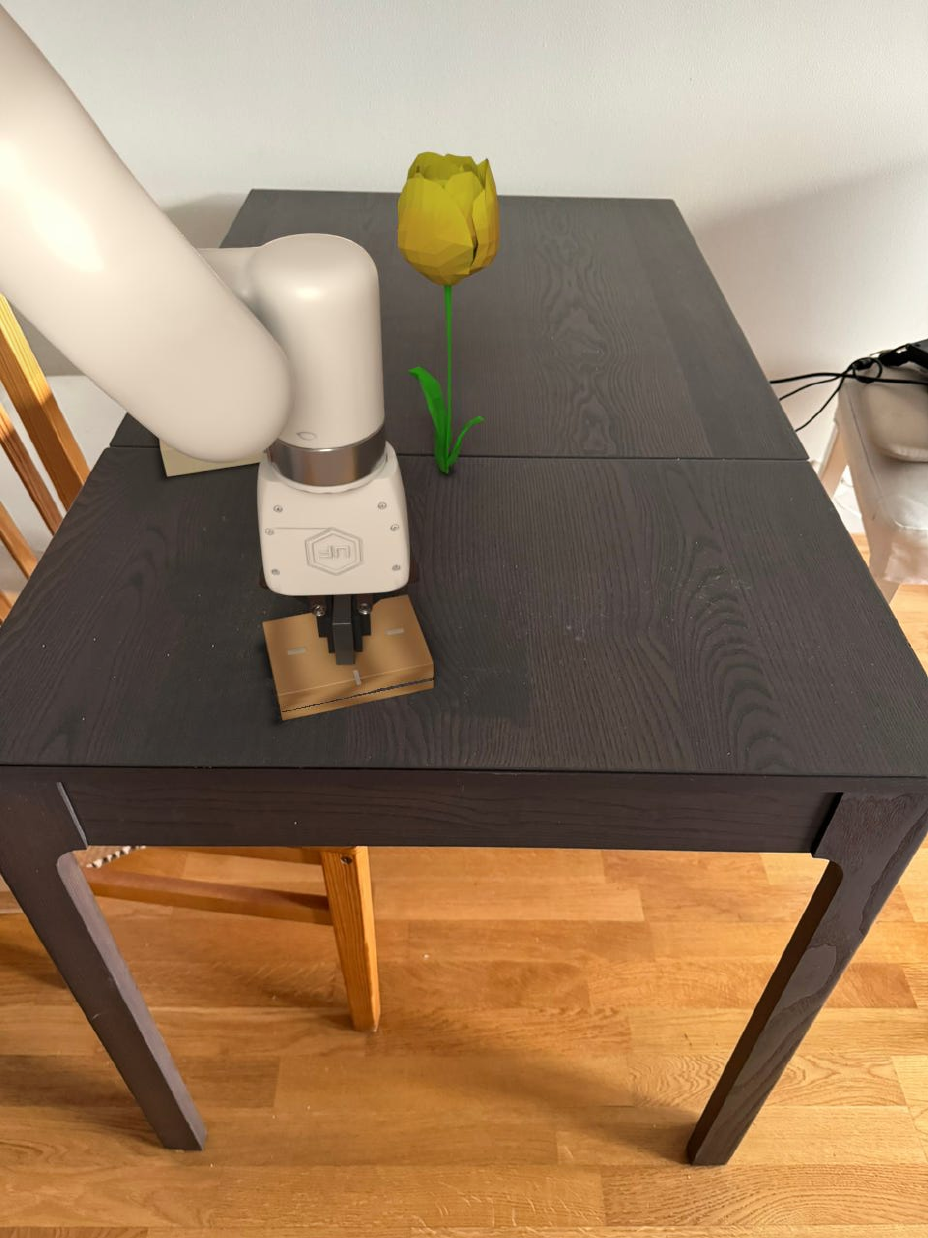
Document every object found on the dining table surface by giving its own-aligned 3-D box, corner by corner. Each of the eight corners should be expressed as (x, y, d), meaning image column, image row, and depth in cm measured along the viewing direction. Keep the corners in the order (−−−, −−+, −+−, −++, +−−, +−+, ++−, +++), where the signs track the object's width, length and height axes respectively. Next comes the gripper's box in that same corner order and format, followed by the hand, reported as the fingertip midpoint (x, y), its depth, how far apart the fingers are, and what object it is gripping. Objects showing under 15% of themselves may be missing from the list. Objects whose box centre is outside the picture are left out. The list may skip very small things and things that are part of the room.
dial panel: (283, 727, 70) (278, 700, 68) (265, 642, 77) (260, 615, 74) (436, 694, 73) (436, 667, 71) (406, 615, 79) (405, 587, 77)
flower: (491, 452, 97) (507, 144, 75) (484, 499, 91) (499, 180, 70) (409, 445, 97) (402, 137, 76) (397, 492, 91) (385, 173, 70)
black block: (354, 664, 71) (350, 621, 68) (336, 665, 71) (331, 621, 67) (355, 618, 74) (352, 574, 71) (338, 619, 74) (333, 575, 71)
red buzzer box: (167, 476, 92) (156, 434, 89) (160, 427, 98) (150, 386, 95) (287, 458, 95) (281, 416, 91) (273, 412, 101) (268, 370, 98)
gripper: (196, 479, 56) (240, 680, 69) (452, 472, 57) (448, 671, 70) (210, 411, 62) (249, 610, 75) (444, 406, 63) (442, 602, 76)
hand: (346, 638), depth 72 cm, fingers closed
